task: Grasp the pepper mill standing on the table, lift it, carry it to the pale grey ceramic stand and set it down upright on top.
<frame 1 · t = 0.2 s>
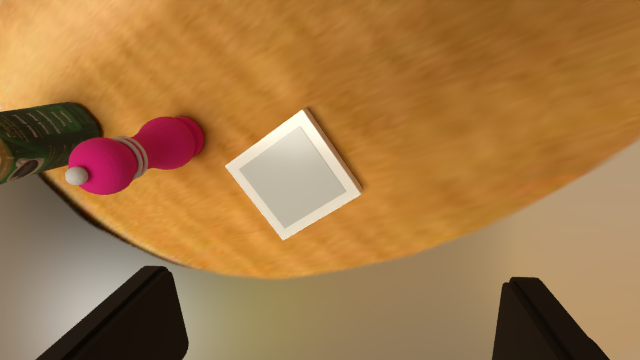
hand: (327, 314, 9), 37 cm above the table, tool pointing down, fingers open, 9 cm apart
coffee jar: (76, 131, 51), on the table
stand: (296, 173, 47), on the table
pepper mill: (185, 136, 48), on the table
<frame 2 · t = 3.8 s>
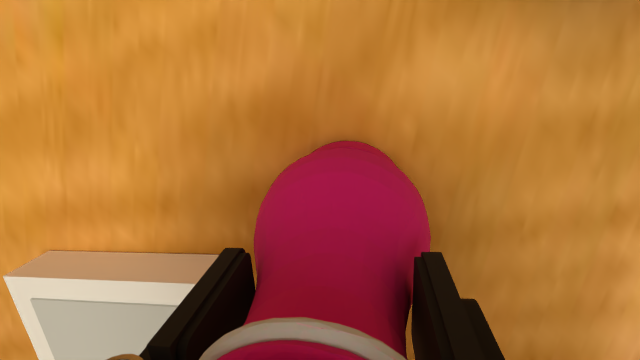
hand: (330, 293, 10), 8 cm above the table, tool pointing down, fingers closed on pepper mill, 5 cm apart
stand: (161, 336, 23), on the table
pepper mill: (347, 193, 18), on the table, touching gripper
when the fingers open (13 cm above the table, at t = 8.6 s): pepper mill drops 1 cm, resting on stand.
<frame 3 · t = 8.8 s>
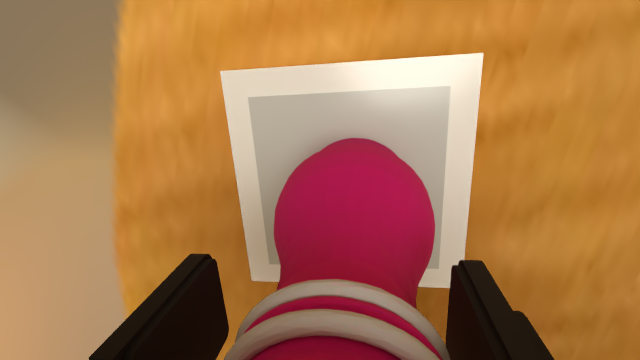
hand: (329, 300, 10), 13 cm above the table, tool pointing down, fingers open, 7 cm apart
stand: (350, 171, 22), on the table
pepper mill: (355, 187, 19), point 3 cm above the table, touching stand
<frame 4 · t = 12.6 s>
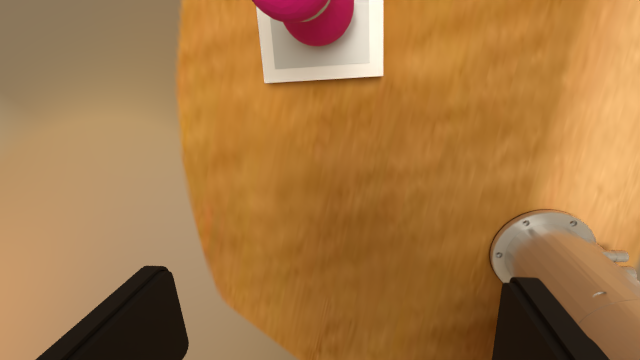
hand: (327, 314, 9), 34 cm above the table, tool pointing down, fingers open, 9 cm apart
stand: (322, 17, 38), on the table
pepper mill: (322, 14, 35), point 3 cm above the table, touching stand
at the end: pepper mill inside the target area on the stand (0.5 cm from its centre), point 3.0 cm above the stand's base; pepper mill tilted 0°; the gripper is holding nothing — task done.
